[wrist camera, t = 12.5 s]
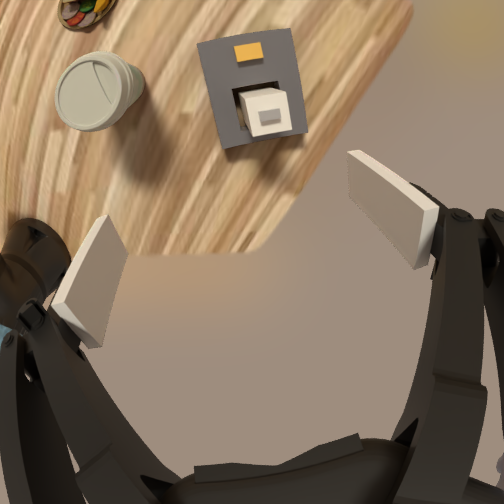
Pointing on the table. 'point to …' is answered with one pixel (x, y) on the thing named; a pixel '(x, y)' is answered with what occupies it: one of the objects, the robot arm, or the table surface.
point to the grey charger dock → (251, 79)
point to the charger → (265, 110)
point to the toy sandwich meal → (82, 12)
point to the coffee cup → (97, 91)
